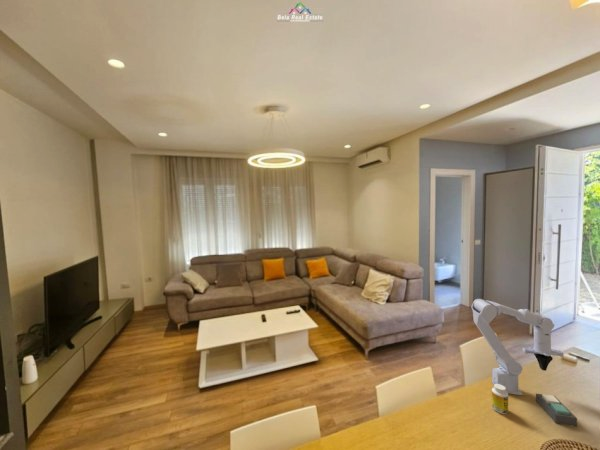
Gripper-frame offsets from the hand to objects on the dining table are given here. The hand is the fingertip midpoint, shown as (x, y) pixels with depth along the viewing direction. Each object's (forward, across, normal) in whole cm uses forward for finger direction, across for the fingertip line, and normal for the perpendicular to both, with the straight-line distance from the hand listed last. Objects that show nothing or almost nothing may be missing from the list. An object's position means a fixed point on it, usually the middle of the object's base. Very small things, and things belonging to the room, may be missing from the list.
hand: (542, 369), depth 118 cm
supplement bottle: (+10, -25, -18) cm, 32 cm away
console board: (+10, -4, -15) cm, 18 cm away
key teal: (+8, -4, -17) cm, 19 cm away
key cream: (+8, -4, -12) cm, 15 cm away
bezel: (+10, -4, -15) cm, 18 cm away
